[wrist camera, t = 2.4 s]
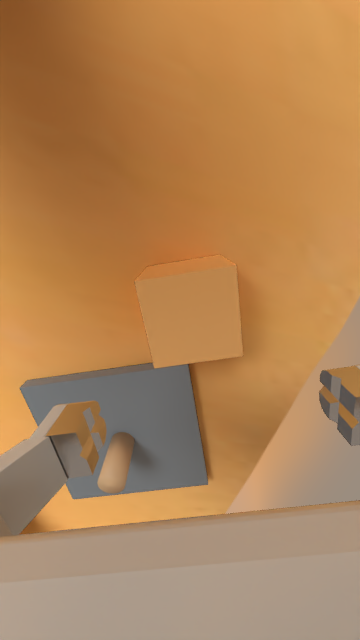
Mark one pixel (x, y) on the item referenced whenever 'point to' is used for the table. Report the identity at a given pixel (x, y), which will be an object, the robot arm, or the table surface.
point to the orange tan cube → (191, 310)
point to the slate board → (132, 427)
